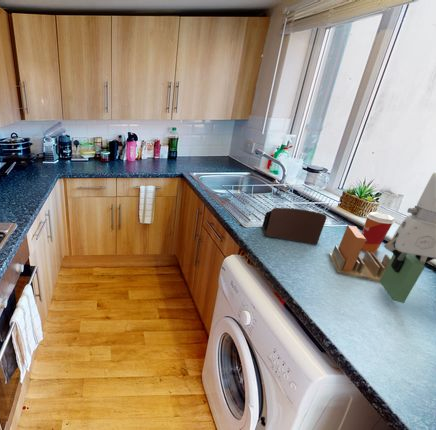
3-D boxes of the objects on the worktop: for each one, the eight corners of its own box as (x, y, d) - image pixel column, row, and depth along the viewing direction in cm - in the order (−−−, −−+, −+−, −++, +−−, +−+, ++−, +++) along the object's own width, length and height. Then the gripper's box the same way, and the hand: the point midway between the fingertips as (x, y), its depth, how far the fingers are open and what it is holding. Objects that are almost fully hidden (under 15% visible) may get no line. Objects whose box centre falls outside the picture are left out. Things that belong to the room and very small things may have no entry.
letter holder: (317, 244, 118) (328, 213, 112) (264, 236, 123) (272, 206, 117) (310, 234, 126) (321, 204, 120) (261, 226, 132) (269, 198, 126)
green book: (389, 283, 92) (407, 248, 86) (403, 303, 83) (425, 266, 78) (379, 281, 93) (396, 246, 87) (392, 300, 84) (413, 263, 79)
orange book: (343, 257, 108) (356, 226, 102) (351, 271, 99) (366, 239, 94) (335, 255, 109) (347, 225, 103) (342, 269, 100) (356, 237, 95)
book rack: (381, 265, 105) (387, 253, 103) (397, 285, 94) (404, 273, 92) (328, 254, 111) (333, 243, 109) (337, 273, 100) (342, 261, 98)
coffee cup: (356, 241, 121) (370, 209, 114) (381, 250, 115) (398, 216, 109) (351, 248, 116) (365, 214, 109) (376, 257, 110) (393, 222, 104)
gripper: (400, 215, 77) (373, 271, 84) (482, 227, 71) (445, 286, 79) (389, 205, 83) (364, 258, 91) (463, 215, 78) (430, 271, 85)
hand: (402, 270), depth 85 cm, fingers closed on green book, 2 cm apart
